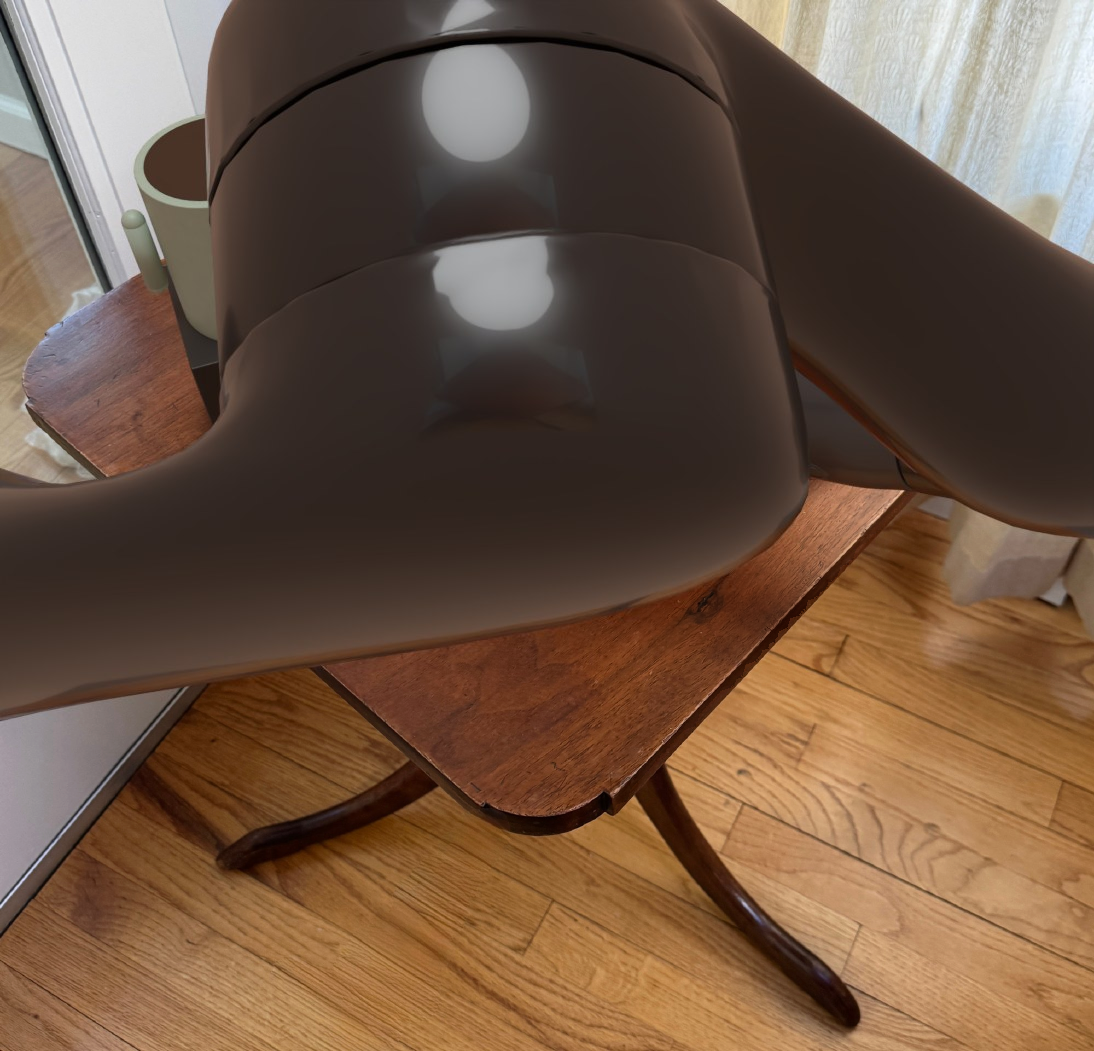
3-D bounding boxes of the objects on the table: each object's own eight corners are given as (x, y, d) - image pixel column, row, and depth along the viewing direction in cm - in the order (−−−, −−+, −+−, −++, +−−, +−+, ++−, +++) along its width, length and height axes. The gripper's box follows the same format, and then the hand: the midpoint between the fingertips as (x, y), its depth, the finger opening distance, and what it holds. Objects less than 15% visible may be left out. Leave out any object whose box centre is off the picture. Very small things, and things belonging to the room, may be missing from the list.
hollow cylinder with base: (228, 511, 70) (118, 237, 53) (201, 411, 75) (92, 132, 58) (383, 465, 72) (324, 186, 55) (346, 370, 77) (281, 88, 60)
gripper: (886, 216, 49) (598, 209, 60) (726, 451, 43) (440, 398, 54) (918, 346, 54) (647, 319, 64) (779, 572, 48) (506, 502, 59)
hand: (553, 355), depth 59 cm, fingers open, 8 cm apart
